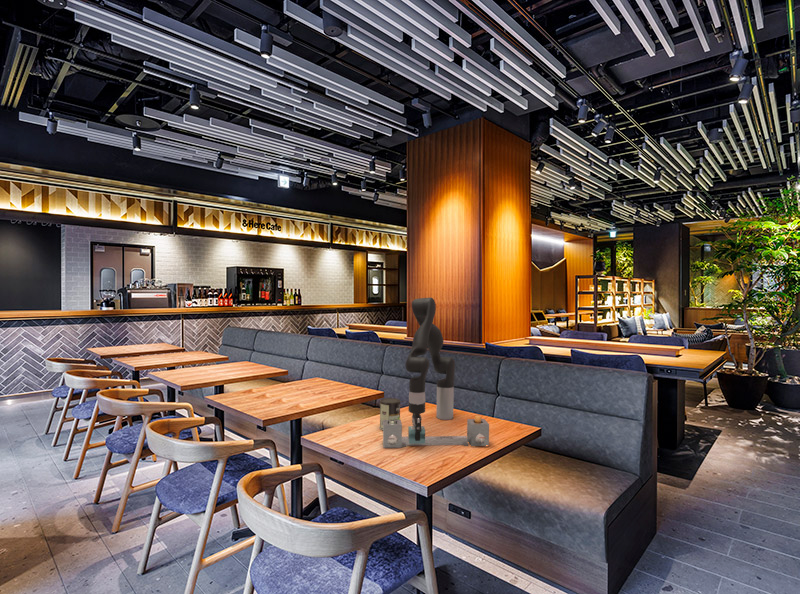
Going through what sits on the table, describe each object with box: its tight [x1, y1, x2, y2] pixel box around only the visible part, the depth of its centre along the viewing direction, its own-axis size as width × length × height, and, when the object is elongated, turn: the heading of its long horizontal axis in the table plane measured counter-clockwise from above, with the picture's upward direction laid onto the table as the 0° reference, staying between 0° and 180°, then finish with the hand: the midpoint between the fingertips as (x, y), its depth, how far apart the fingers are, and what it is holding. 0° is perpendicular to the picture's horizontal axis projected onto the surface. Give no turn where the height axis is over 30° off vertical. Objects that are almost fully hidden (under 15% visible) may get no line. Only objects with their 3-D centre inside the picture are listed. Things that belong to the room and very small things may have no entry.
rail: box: [402, 435, 469, 448], centre depth 188 cm, size 6×30×3 cm, turn 94°
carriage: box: [407, 425, 426, 444], centre depth 187 cm, size 5×7×6 cm
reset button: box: [474, 414, 482, 423], centre depth 189 cm, size 3×3×4 cm
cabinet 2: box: [466, 418, 490, 447], centre depth 189 cm, size 9×8×10 cm
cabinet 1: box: [382, 419, 403, 449], centre depth 186 cm, size 9×8×11 cm
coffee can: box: [379, 397, 401, 431], centre depth 209 cm, size 10×10×14 cm
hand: (416, 437), depth 187 cm, fingers open, 8 cm apart
